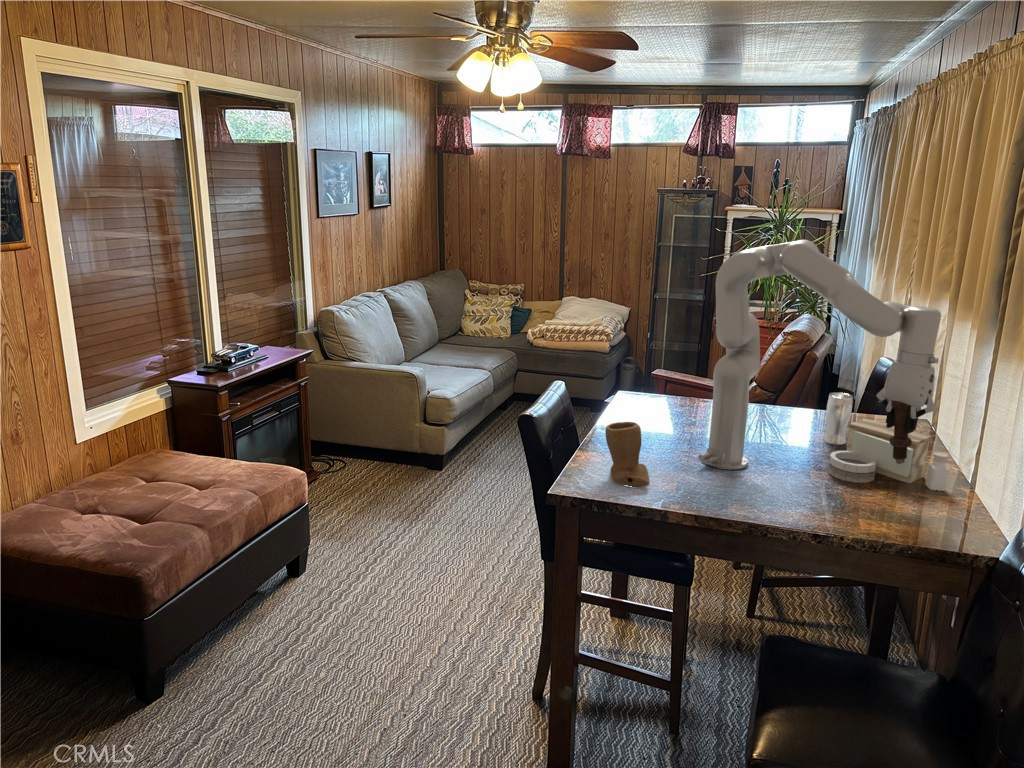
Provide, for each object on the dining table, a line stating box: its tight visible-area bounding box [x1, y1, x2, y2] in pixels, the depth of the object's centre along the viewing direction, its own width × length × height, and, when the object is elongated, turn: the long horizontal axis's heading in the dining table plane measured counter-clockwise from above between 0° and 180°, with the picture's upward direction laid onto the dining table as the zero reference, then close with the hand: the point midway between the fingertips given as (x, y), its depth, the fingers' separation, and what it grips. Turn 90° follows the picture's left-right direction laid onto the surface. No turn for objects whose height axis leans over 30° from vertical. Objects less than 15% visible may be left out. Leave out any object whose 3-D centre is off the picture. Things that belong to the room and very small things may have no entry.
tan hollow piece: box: [605, 421, 650, 488], centre depth 192 cm, size 15×12×15 cm
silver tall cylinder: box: [823, 392, 854, 446], centre depth 224 cm, size 7×7×15 cm
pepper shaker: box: [924, 452, 950, 492], centre depth 190 cm, size 4×4×10 cm
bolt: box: [890, 401, 912, 460], centre depth 181 cm, size 6×5×15 cm
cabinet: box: [827, 418, 933, 484], centre depth 198 cm, size 21×19×12 cm
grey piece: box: [828, 431, 914, 477], centre depth 195 cm, size 12×18×8 cm, turn 30°
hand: (899, 428), depth 181 cm, fingers closed on bolt, 4 cm apart
